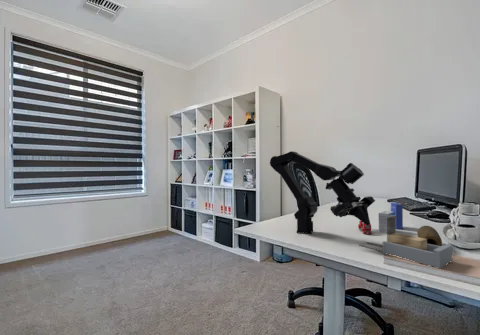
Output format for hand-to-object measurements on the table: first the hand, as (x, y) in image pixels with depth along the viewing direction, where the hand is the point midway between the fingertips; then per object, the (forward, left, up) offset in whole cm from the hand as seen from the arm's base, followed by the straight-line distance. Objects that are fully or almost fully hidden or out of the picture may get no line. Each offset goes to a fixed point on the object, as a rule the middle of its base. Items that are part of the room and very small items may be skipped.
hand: (368, 224), depth 93 cm
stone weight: (+21, +5, -8) cm, 23 cm away
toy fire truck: (+2, +24, -8) cm, 25 cm away
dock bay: (+8, -7, -8) cm, 13 cm away
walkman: (+18, +35, -8) cm, 40 cm away
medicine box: (+12, +26, -8) cm, 30 cm away
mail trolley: (+10, -8, -8) cm, 15 cm away
